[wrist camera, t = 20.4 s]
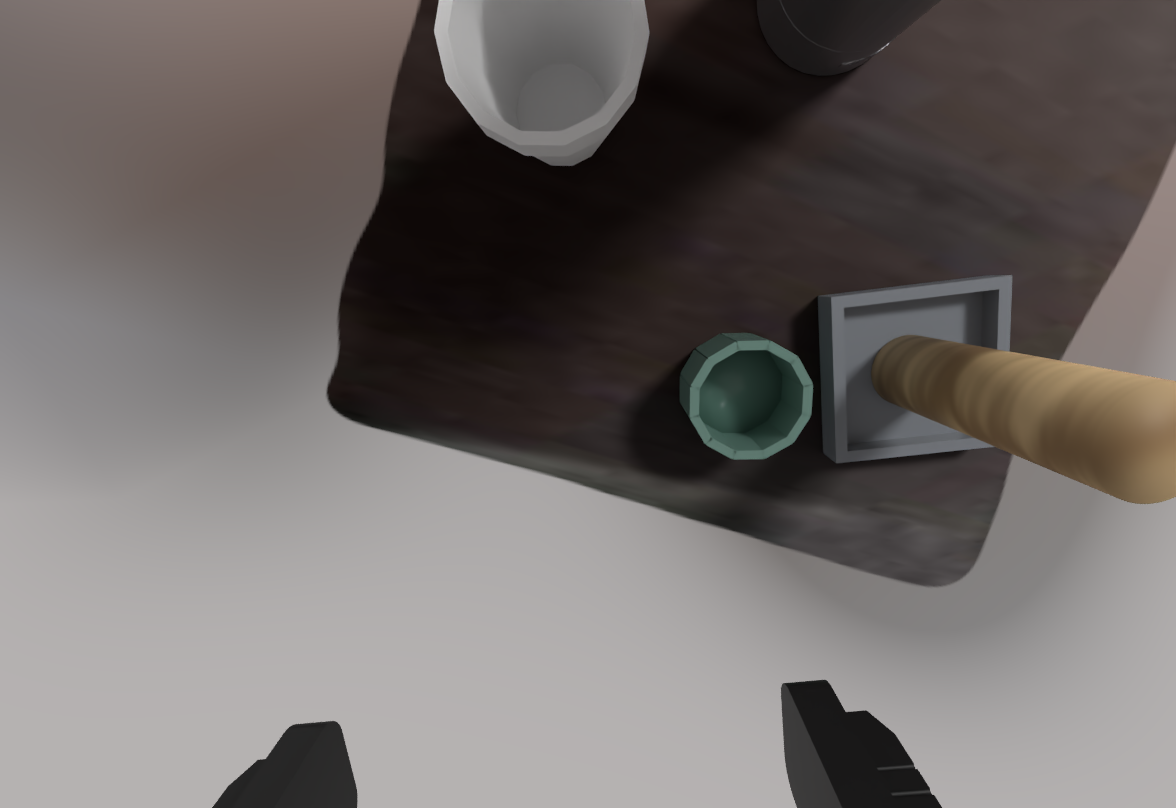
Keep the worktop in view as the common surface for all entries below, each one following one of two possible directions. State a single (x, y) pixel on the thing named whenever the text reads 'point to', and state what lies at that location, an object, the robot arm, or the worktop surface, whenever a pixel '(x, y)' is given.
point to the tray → (868, 323)
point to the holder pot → (745, 395)
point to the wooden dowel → (1042, 411)
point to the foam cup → (544, 69)
